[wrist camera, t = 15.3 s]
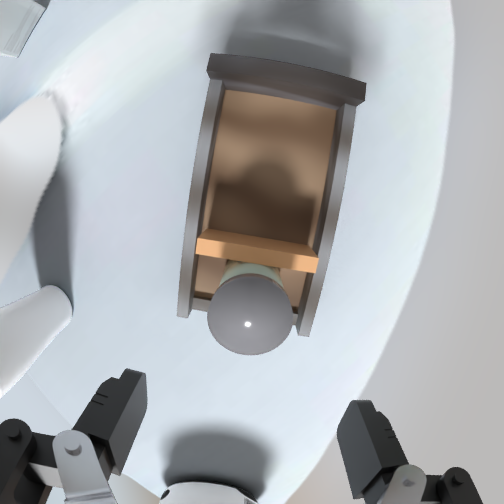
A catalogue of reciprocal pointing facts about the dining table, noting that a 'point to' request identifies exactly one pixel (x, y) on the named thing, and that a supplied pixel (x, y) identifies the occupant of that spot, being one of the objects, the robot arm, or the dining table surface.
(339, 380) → the dining table surface
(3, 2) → the skincare box
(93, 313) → the dining table surface
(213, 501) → the milk container
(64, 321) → the drinking glass
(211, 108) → the grey wooden tray
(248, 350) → the jar
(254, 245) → the plate
